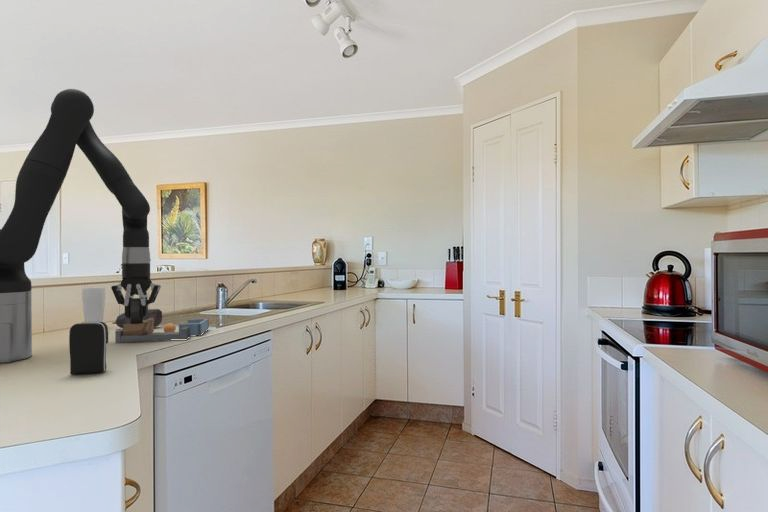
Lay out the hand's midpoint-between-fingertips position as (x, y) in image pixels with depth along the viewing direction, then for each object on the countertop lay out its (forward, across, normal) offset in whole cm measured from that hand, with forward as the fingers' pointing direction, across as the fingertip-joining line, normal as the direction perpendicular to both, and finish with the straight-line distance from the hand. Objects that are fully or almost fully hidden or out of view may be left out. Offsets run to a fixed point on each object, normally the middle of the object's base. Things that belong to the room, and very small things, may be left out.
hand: (136, 317), depth 131 cm
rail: (+7, +5, 0) cm, 9 cm away
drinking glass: (+7, -23, +24) cm, 34 cm away
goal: (+7, +14, +10) cm, 19 cm away
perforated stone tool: (+7, -8, +23) cm, 26 cm away
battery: (+7, +4, -36) cm, 37 cm away
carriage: (+7, 0, +5) cm, 8 cm away
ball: (+5, +6, +10) cm, 13 cm away
